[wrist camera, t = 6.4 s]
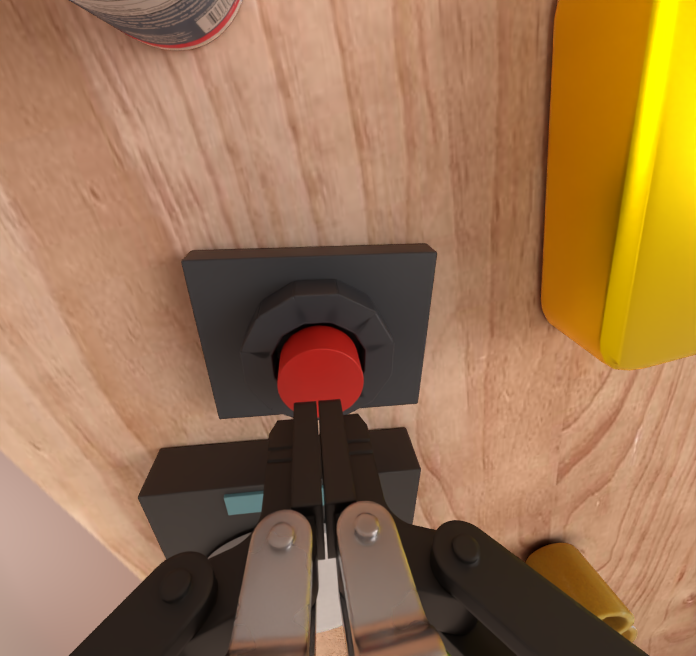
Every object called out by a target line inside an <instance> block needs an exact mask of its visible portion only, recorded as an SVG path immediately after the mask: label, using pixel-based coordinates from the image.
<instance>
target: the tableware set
mask: <svg viewBox="0 0 696 656" xmlns="http://www.w3.org/2000/svg"><path fill="white" fill-rule="evenodd" d="M525 563H526V564H527V565H529V566H530V567H531V568H533V569H534V570H535V571H537V572H538V573H539V574H541V575H542V576H543V577H545V578H546V579H547V580H549V581H550V582H551V583H553V584H554V585H555V586H557V587H558V588H559V589H561V590H562V591H563V592H565V593H566V594H567V595H569V596H570V597H571V598H573V599H574V600H575V601H577V602H578V603H579V604H581V605H582V606H583V607H585V608H586V609H587V610H589V611H590V612H591V613H593V614H594V615H596V616H597V617H598V618H600V619H601V620H602V621H604V622H605V623H606V624H608V625H609V626H610V627H612V628H613V629H614V630H616V631H617V632H618V633H620V634H621V635H622V636H624V637H625V638H626V639H628V640H629V641H630V642H632V643H633V641H634V640H635V639H636V637H637V630H636V628H635V627H634V626H633V624H634V616H633V614H632V613H631V612H630V611H629V610H628V608H627V607H626V606H625V605H624V604H623V602H622V601H621V600H620V599H619V598H618V597H617V595H616V594H615V593H614V592H613V591H612V589H611V588H610V587H609V586H608V585H607V584H606V582H605V581H604V580H603V579H602V578H601V576H600V575H599V574H598V573H597V572H596V571H595V569H594V568H593V567H592V566H591V565H590V564H589V562H588V561H587V560H586V559H585V558H584V556H583V555H582V554H581V553H580V552H579V551H578V550H577V549H576V548H575V547H574V546H573V545H571V544H568V543H553V544H549V545H546V546H544V547H542V548H540V549H538V550H536V551H535V552H533V553H532V554H531V555H530V556H529V557H528V558H527V560H526V562H525ZM446 652H447V655H448V656H451V655H450V654H449V652H448V651H447V650H446Z"/></svg>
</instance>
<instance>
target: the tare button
mask: <svg viewBox="0 0 696 656" xmlns="http://www.w3.org/2000/svg"><path fill="white" fill-rule="evenodd" d="M363 384H364V377H363V372H362V369H361V365H360V361H359V357H358V353H357V349H356V346H355V344H354V343H353V341H352V340H351V338H350V337H349V336H348V335H346V334H345V333H344V332H342V331H340V330H338V329H336V328H333V327H329V326H311V327H307V328H304V329H302V330H300V331H298V332H296V333H295V334H293V335H292V336H291V337H290V338H289V339H288V340H287V341H286V342H285V344H284V346H283V348H282V350H281V354H280V362H279V371H278V380H277V388H278V393H279V395H280V397H281V399H282V401H283V402H284V403H285V404H286V405H287V406H288V407H289V408H290V409H291V410H293V411H294V403H295V402H308V401H316V404H317V418H318V417H319V406H318V401H319V400H332V399H340V400H341V405H342V411H345V410H346V409H348V408H349V407H351V406H352V405H353V404H354V403H355V402H356V400H357V399H358V398H359V396H360V394H361V392H362V389H363Z"/></svg>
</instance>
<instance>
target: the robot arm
mask: <svg viewBox="0 0 696 656" xmlns="http://www.w3.org/2000/svg"><path fill="white" fill-rule="evenodd" d="M318 406H319V426H320V445H321V461H322V476H323V491H324V507H325V522H326V537H327V552H328V559H332V558H336V567H337V579H338V597H339V604H340V610H341V617H342V624H343V631H344V637H345V644H346V651H347V656H448V655H447V652H446V650H447V651H448V652H449V654H450V655H451V656H649V655H648V654H646V653H645V652H644V651H642V650H641V649H640V648H638V647H637V646H636V645H634V644H633V643H632V642H630V641H629V640H628V639H626V638H625V637H624V636H622V635H621V634H620V633H618V632H617V631H616V630H614V629H613V628H612V627H610V626H609V625H608V624H606V623H605V622H604V621H602V620H601V619H600V618H598V617H597V616H596V615H594V614H593V613H591V612H590V611H589V610H587V609H586V608H585V607H583V606H582V605H581V604H579V603H578V602H577V601H575V600H574V599H573V598H571V597H570V596H569V595H567V594H566V593H565V592H563V591H562V590H561V589H559V588H558V587H557V586H555V585H554V584H553V583H551V582H550V581H549V580H547V579H546V578H545V577H543V576H542V575H541V574H539V573H538V572H537V571H535V570H534V569H533V568H531V567H530V566H529V565H527V564H526V563H525V562H523V561H522V560H521V559H519V558H518V557H517V556H515V555H514V554H513V553H511V552H510V551H509V550H507V549H506V548H505V547H503V546H502V545H501V544H499V543H498V542H497V541H495V540H494V539H492V538H491V537H490V536H488V535H487V534H486V533H484V532H483V531H482V530H480V529H479V528H478V527H476V526H474V525H472V524H470V523H468V522H465V521H459V520H453V521H448V522H446V523H444V524H442V525H441V526H440V527H439V528H438V529H437V530H433V529H429V528H424V527H420V526H415V525H412V524H409V523H406V522H404V521H403V520H401V519H399V518H398V517H397V516H396V515H394V513H393V512H392V511H391V510H390V509H389V507H388V506H387V504H386V502H385V499H384V495H383V491H382V487H381V482H380V478H379V474H378V470H377V465H376V461H375V457H374V453H373V448H372V444H371V441H370V436H369V431H368V427H367V424H366V423H365V422H364V421H363V420H362V418H361V417H360V416H359V415H358V414H350V415H343V411H342V405H341V400H340V399H332V400H319V401H318ZM318 560H325V541H324V521H323V502H322V485H321V469H320V453H319V436H318V420H317V404H316V401H308V402H295V403H294V413H293V419H291V420H279V421H277V423H276V424H275V426H274V427H273V429H272V431H271V432H270V434H269V444H268V453H267V464H266V472H265V482H264V491H263V501H262V510H261V516H260V519H259V521H258V523H257V525H256V527H255V528H254V530H253V531H252V533H251V534H250V535H249V536H248V537H247V538H246V539H245V540H244V541H242V542H241V543H239V544H238V545H236V546H234V547H233V548H231V549H228V550H226V551H224V552H222V553H220V554H218V555H215V556H213V557H211V558H209V559H208V558H207V557H206V556H205V555H203V554H201V553H199V552H194V551H187V552H182V553H179V554H176V555H174V556H172V557H170V558H168V559H167V560H165V561H164V562H162V563H161V564H160V565H159V566H158V567H157V568H156V569H155V570H154V571H153V572H152V573H151V574H150V575H149V576H148V577H147V578H146V579H145V580H144V581H143V582H142V583H141V584H140V585H139V586H138V587H137V588H136V589H135V590H134V591H133V592H132V593H131V594H130V595H129V596H128V597H127V598H126V599H125V600H124V601H123V602H122V603H121V604H120V605H119V606H118V607H117V608H116V609H115V610H114V611H113V612H112V613H111V614H110V615H109V616H108V617H107V618H106V619H105V620H104V621H103V622H102V623H101V624H100V625H99V626H98V627H97V628H96V629H95V630H94V631H93V632H92V633H91V634H90V635H89V636H88V637H87V638H86V639H85V640H84V641H83V642H82V643H81V644H80V645H79V646H78V647H77V648H76V649H75V650H74V651H73V652H72V653H71V654H70V655H69V656H316V621H317V596H318V591H319V574H318Z"/></svg>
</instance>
